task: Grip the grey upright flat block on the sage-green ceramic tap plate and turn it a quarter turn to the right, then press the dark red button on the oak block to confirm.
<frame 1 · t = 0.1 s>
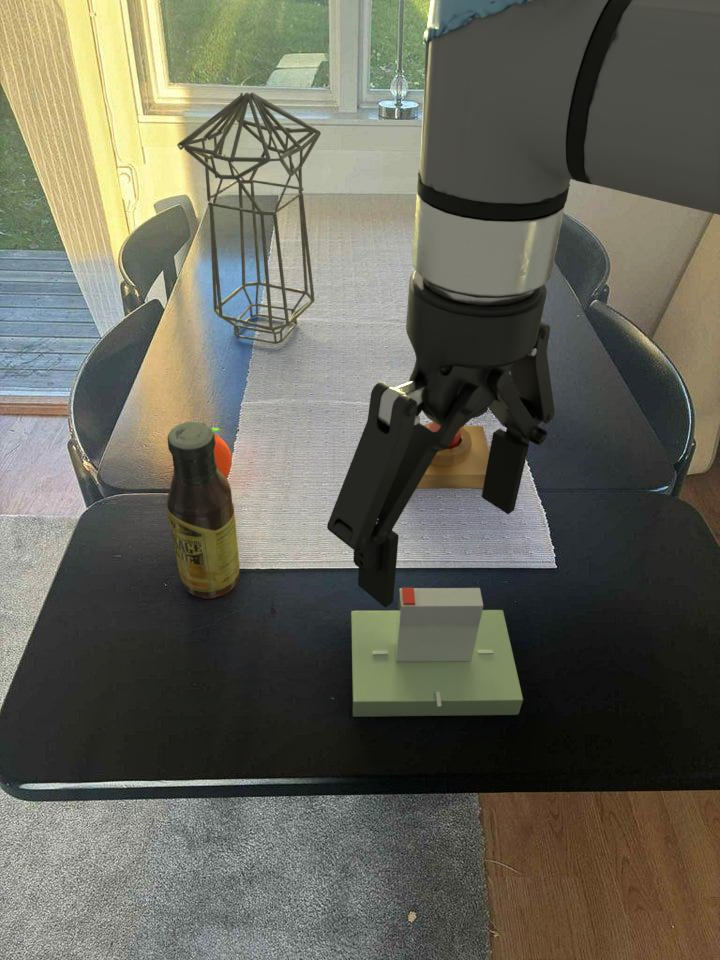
hand: (440, 546, 52), 19 cm above the table, tool pointing down, fingers open, 13 cm apart
button block: (440, 462, 90), on the table
tap plate: (430, 668, 67), on the table
geometric lantern: (265, 332, 115), on the table
beer bottle: (453, 363, 109), on the table
sauce bottle: (213, 582, 74), on the table
grey upright flat block: (436, 625, 62), point 7 cm above the table, hinge at 0.0°
confirm button: (443, 434, 87), point 4 cm above the table, slide at 0.1 cm
clementine: (209, 480, 87), on the table
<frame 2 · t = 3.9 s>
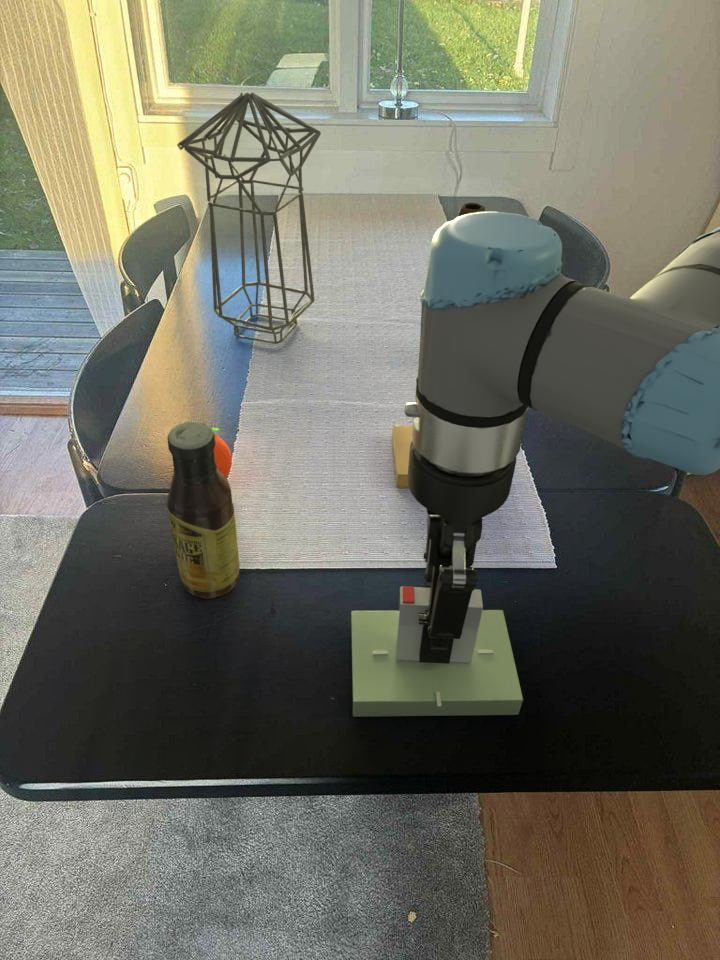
hand: (433, 646, 64), 3 cm above the table, tool pointing down, fingers closed on grey upright flat block, 2 cm apart
grey upright flat block: (436, 625, 62), point 7 cm above the table, hinge at -3.4°, touching gripper
everything else where it was.
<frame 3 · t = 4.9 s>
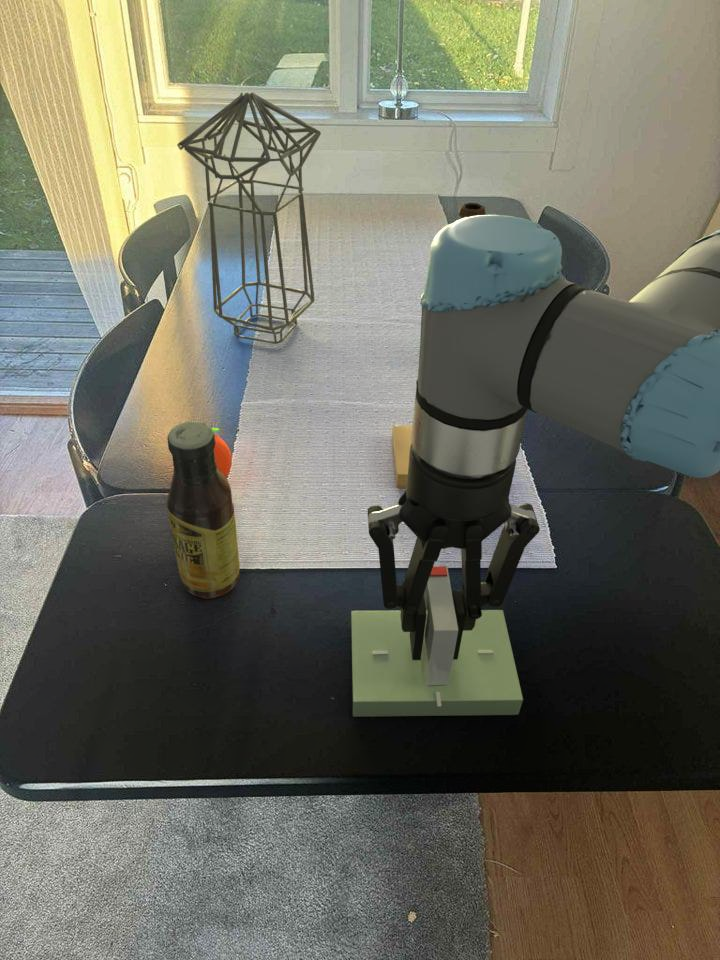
hand: (433, 647, 64), 3 cm above the table, tool pointing down, fingers open, 3 cm apart
grey upright flat block: (436, 625, 62), point 7 cm above the table, hinge at -89.3°
everything else where it was.
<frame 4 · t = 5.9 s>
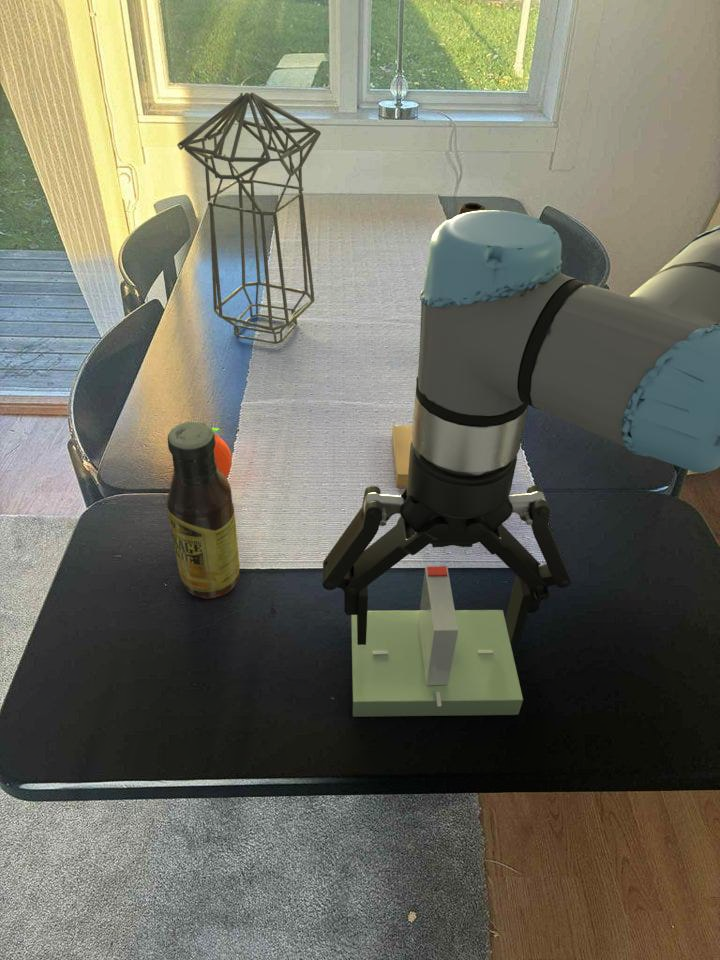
hand: (436, 631, 63), 6 cm above the table, tool pointing down, fingers open, 13 cm apart
nothing on the table moved.
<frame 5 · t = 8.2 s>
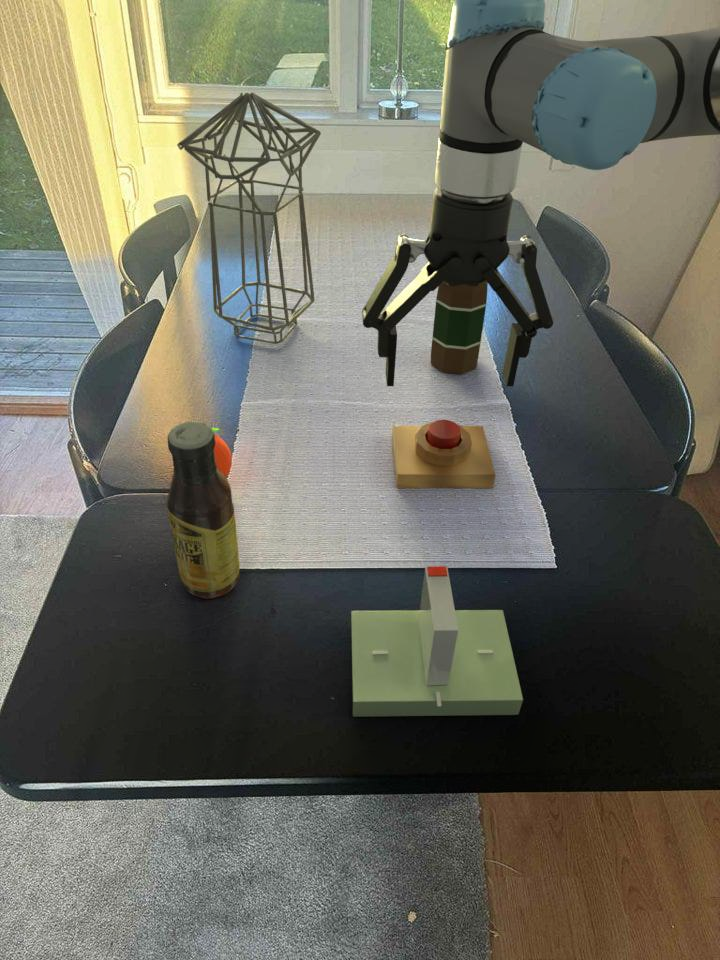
hand: (448, 380, 80), 14 cm above the table, tool pointing down, fingers open, 13 cm apart
nothing on the table moved.
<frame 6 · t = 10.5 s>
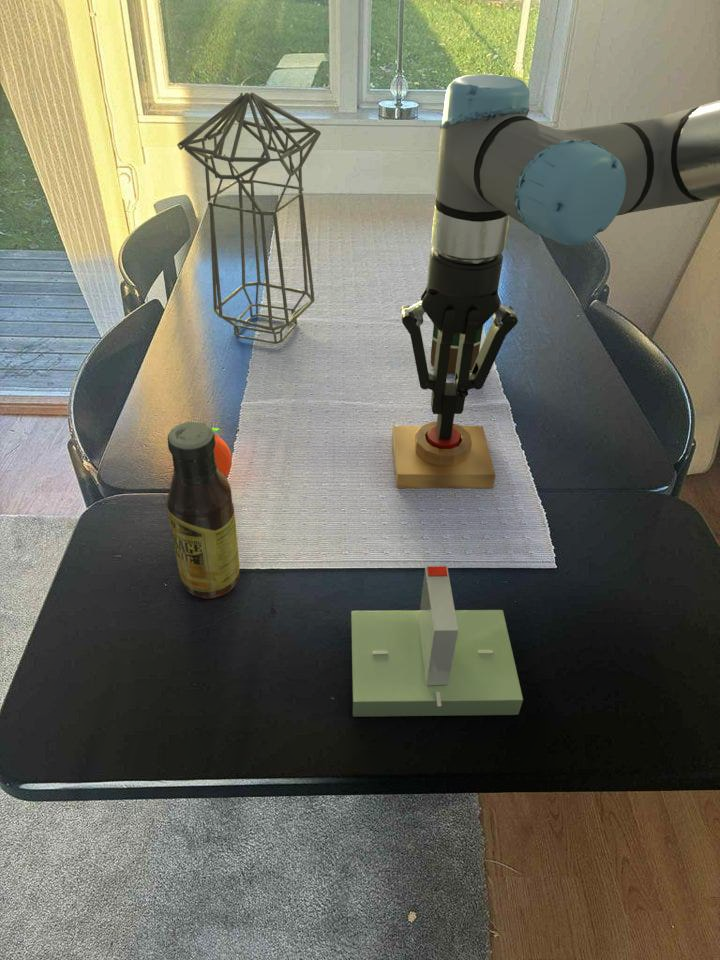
hand: (443, 432, 87), 5 cm above the table, tool pointing down, fingers closed
confirm button: (443, 440, 88), point 4 cm above the table, slide at -0.8 cm, touching gripper
everything else where it was.
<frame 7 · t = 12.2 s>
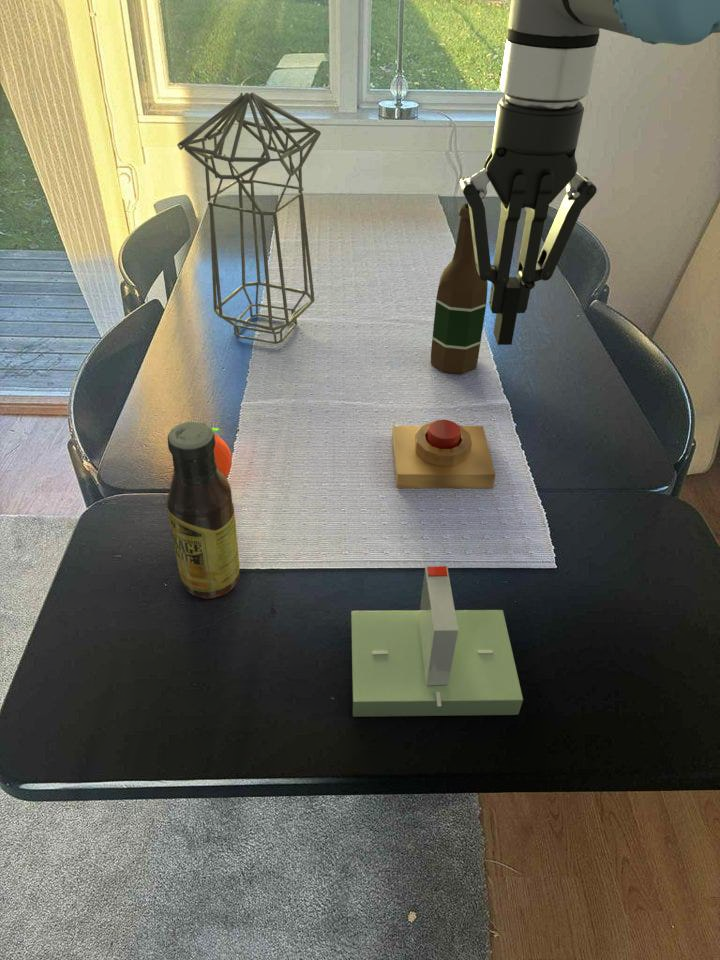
hand: (502, 338, 77), 19 cm above the table, tool pointing down, fingers closed
confirm button: (443, 434, 87), point 4 cm above the table, slide at 0.1 cm
everything else where it was.
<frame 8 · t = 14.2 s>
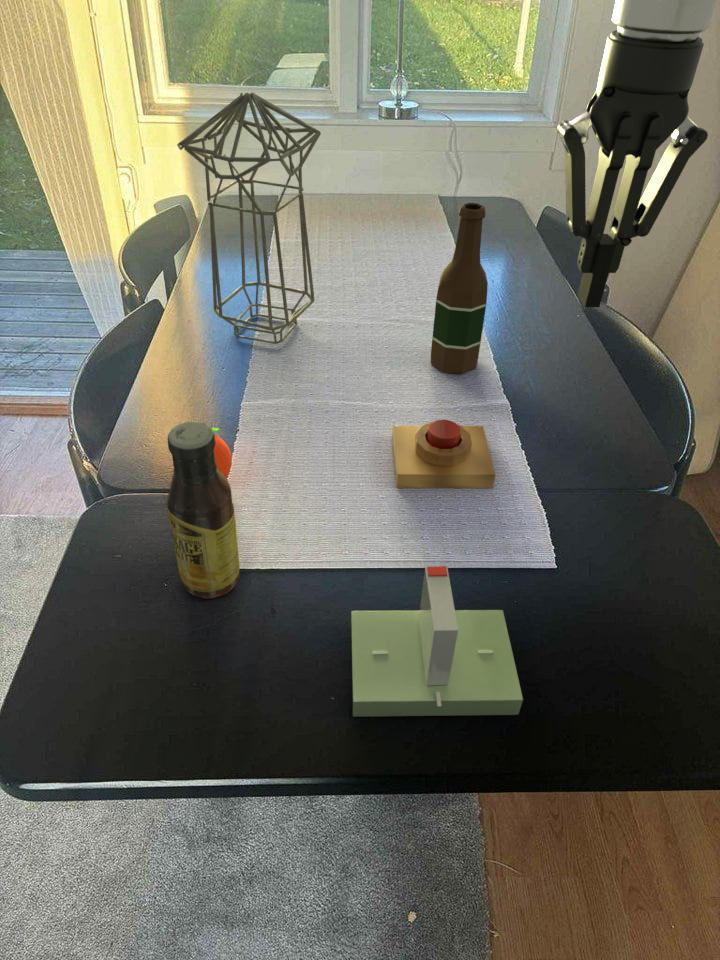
hand: (588, 300, 72), 24 cm above the table, tool pointing down, fingers closed
nothing on the table moved.
at the end: grey upright flat block at -89° (first picture: +0°); confirm button pushed in 1.0 cm at the most during the clip, back to where it started at the end; confirm button slide at 0.1 cm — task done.
